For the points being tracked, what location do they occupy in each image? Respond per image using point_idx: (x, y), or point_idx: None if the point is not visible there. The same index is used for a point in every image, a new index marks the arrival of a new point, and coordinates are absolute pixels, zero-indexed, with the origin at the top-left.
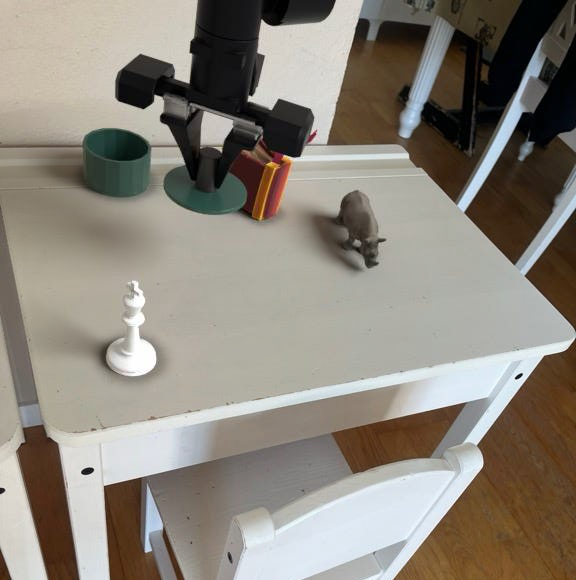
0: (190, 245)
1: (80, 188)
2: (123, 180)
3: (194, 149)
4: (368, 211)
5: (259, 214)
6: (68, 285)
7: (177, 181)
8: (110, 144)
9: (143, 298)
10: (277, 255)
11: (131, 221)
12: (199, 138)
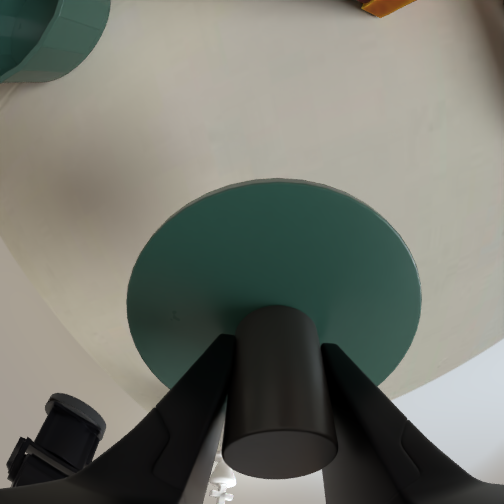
0: (245, 156)
1: (16, 89)
2: (54, 65)
3: (205, 477)
4: None
5: (382, 14)
6: (108, 324)
7: (175, 342)
8: None
9: (233, 483)
10: (428, 129)
11: (111, 131)
12: (198, 464)
